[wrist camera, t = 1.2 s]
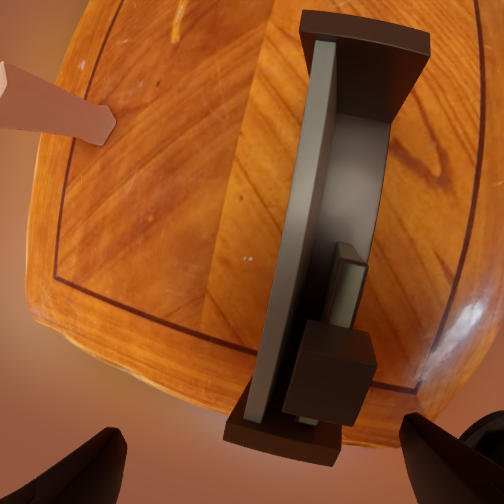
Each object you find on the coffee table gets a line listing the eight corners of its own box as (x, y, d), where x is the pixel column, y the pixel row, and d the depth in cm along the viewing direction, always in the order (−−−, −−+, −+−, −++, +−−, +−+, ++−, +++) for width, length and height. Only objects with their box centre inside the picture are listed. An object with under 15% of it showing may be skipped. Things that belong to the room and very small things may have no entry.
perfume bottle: (126, 104, 24) (-16, 47, 9) (109, 152, 24) (-43, 122, 10) (92, 99, 24) (-38, 54, 10) (77, 143, 25) (-60, 118, 11)
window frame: (389, 114, 19) (429, 32, 8) (336, 363, 22) (332, 467, 11) (318, 100, 20) (302, 9, 9) (270, 348, 23) (222, 440, 12)
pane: (363, 246, 19) (402, 286, 8) (335, 352, 20) (330, 474, 9) (326, 238, 19) (318, 267, 8) (301, 345, 20) (265, 460, 10)
